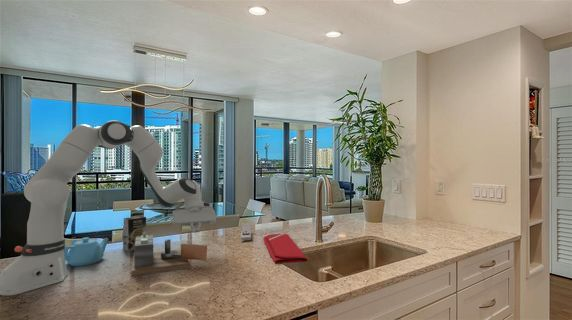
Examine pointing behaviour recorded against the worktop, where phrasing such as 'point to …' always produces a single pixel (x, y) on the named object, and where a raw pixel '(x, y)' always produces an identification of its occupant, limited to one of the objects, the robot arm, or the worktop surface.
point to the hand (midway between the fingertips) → (196, 231)
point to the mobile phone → (245, 232)
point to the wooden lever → (185, 251)
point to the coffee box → (133, 231)
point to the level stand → (153, 258)
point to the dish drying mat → (283, 249)
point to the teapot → (85, 252)
